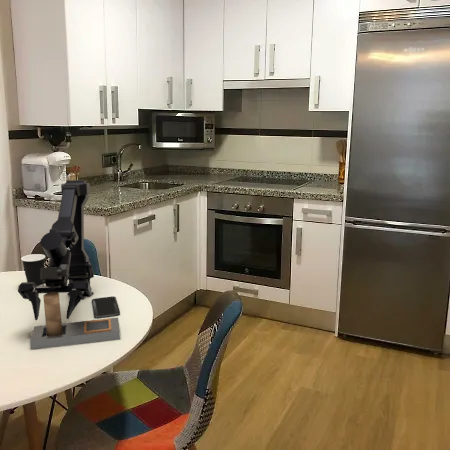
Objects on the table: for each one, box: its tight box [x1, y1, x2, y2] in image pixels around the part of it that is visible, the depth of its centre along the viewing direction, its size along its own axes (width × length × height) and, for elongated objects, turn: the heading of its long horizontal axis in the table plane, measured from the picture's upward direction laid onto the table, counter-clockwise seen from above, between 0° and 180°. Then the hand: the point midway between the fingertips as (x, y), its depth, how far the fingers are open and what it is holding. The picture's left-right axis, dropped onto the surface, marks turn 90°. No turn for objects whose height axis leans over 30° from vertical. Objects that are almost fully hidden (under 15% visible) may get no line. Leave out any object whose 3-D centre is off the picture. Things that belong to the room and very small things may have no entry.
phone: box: [91, 296, 121, 320], centre depth 153 cm, size 8×1×15 cm
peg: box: [42, 292, 64, 337], centre depth 130 cm, size 4×4×13 cm
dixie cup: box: [20, 253, 46, 286], centre depth 170 cm, size 8×8×11 cm
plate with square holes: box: [29, 317, 121, 350], centre depth 133 cm, size 23×9×3 cm, turn 105°
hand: (51, 319), depth 129 cm, fingers open, 8 cm apart
